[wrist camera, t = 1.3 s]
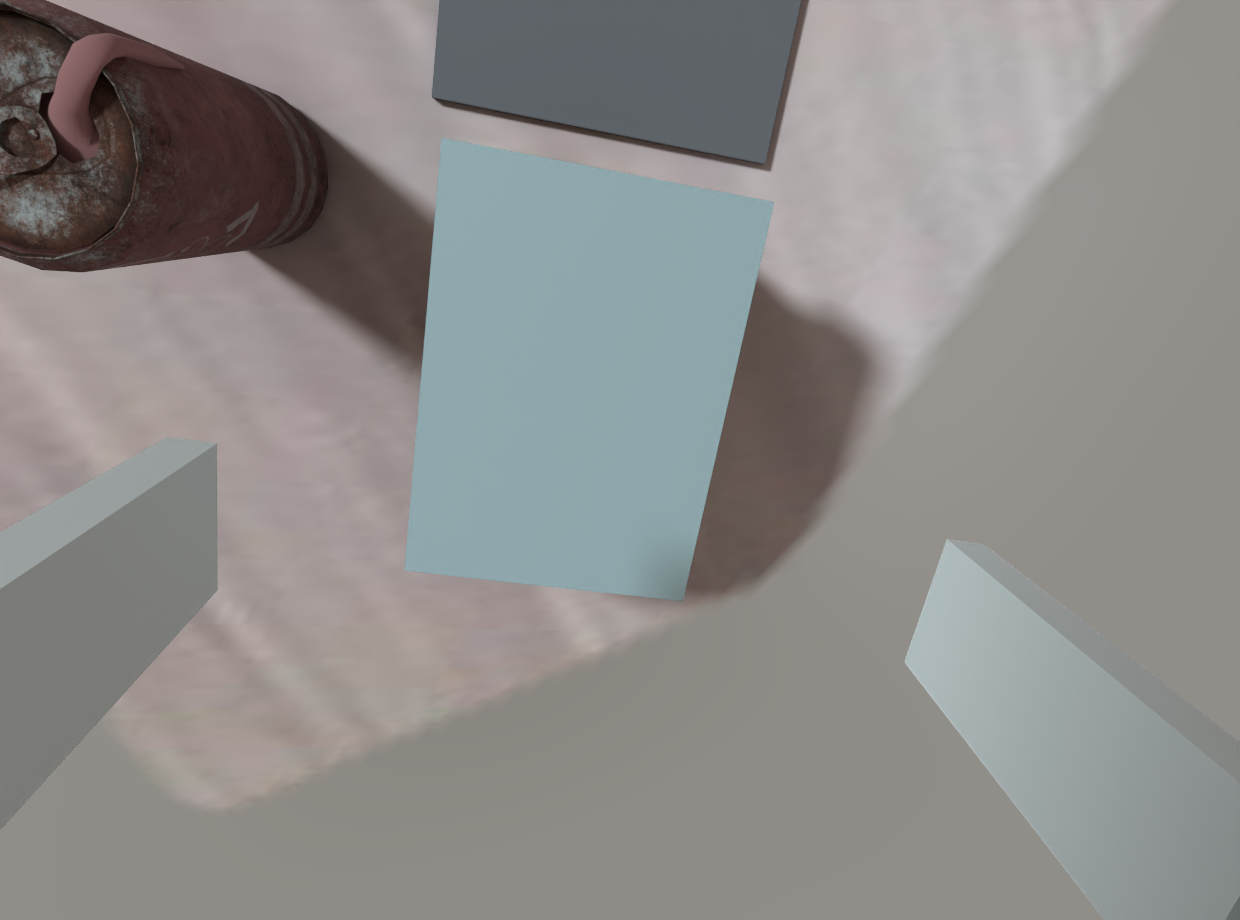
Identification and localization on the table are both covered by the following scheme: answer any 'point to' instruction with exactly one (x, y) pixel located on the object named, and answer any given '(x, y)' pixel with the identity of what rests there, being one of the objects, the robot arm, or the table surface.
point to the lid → (575, 371)
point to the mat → (624, 66)
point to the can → (139, 150)
